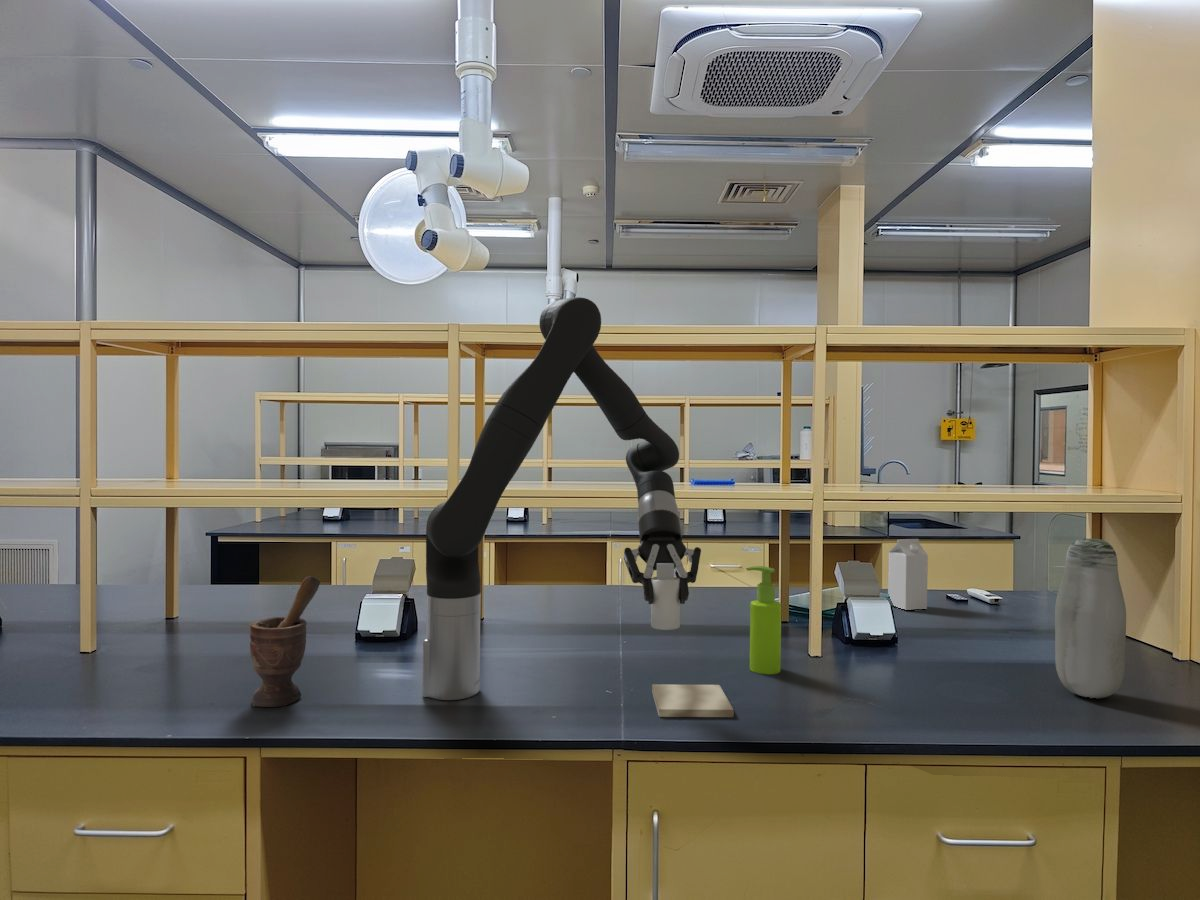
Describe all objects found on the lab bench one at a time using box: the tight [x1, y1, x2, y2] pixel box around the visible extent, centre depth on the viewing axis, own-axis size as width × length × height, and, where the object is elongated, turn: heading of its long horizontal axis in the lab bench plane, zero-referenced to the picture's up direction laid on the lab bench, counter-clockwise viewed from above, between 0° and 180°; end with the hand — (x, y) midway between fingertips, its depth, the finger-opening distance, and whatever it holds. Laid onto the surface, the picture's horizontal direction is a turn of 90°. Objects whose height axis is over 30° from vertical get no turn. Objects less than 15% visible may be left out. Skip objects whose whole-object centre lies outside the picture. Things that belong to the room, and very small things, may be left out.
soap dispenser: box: [745, 565, 782, 675], centre depth 139 cm, size 6×7×20 cm
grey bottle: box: [1054, 538, 1127, 699], centre depth 127 cm, size 10×10×28 cm
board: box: [651, 683, 735, 718], centre depth 120 cm, size 12×12×1 cm
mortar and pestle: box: [249, 575, 321, 708], centre depth 120 cm, size 12×9×20 cm
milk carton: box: [887, 538, 929, 610], centre depth 196 cm, size 7×7×19 cm
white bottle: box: [650, 563, 681, 631], centre depth 120 cm, size 5×5×11 cm
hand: (667, 601), depth 118 cm, fingers closed on white bottle, 4 cm apart
